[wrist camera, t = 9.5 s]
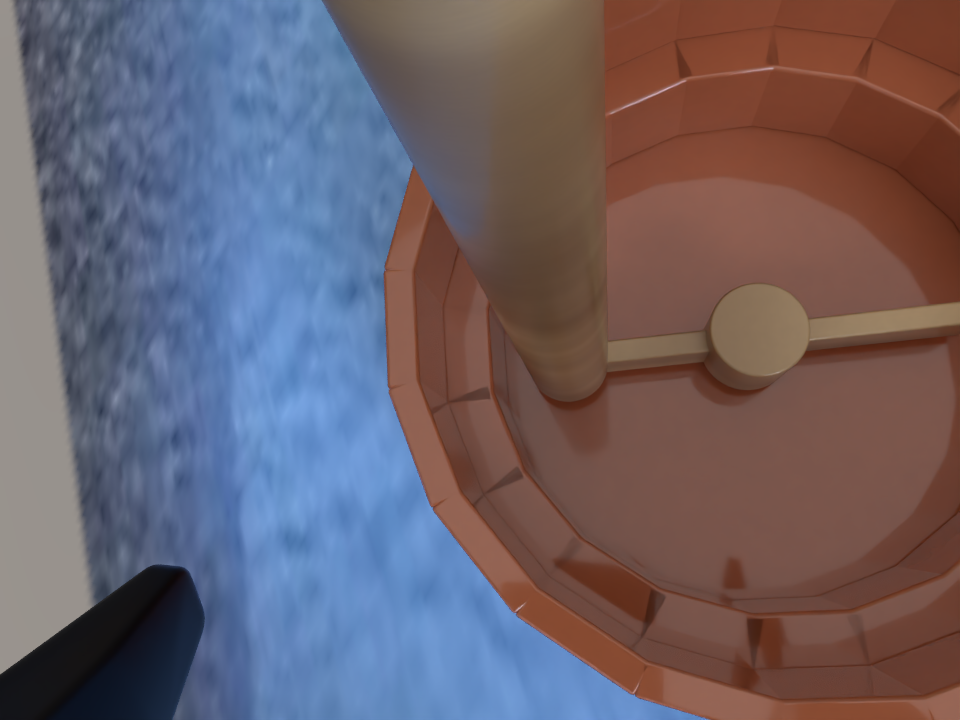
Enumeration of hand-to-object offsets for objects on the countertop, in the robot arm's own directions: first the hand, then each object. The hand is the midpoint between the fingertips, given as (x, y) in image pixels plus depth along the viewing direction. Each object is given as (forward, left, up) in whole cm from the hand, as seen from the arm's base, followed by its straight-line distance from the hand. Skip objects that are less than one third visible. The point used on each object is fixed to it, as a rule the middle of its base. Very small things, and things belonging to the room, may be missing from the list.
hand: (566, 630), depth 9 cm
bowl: (+6, 0, -10) cm, 12 cm away
